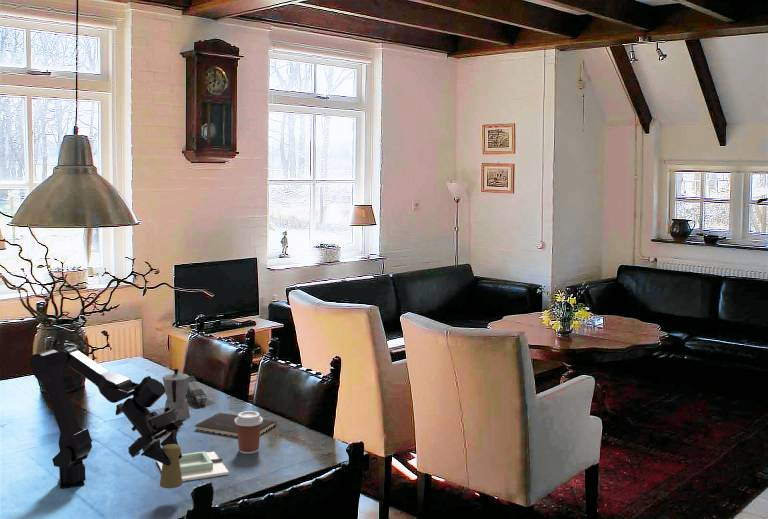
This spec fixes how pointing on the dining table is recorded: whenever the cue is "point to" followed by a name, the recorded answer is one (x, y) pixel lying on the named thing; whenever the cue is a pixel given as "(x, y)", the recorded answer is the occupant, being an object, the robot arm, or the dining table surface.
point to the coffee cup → (248, 431)
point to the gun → (196, 392)
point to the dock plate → (200, 465)
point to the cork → (171, 467)
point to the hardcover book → (227, 424)
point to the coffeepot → (177, 393)
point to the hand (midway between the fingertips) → (175, 461)
